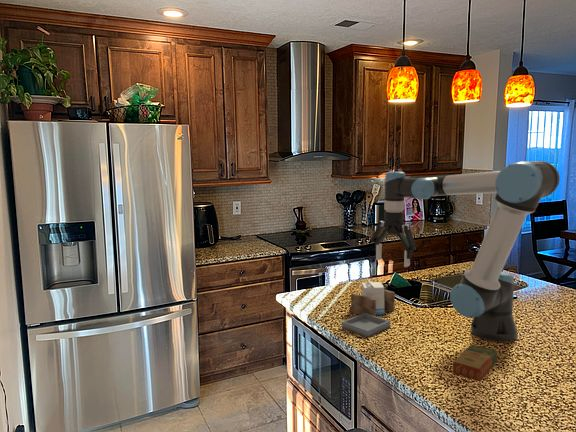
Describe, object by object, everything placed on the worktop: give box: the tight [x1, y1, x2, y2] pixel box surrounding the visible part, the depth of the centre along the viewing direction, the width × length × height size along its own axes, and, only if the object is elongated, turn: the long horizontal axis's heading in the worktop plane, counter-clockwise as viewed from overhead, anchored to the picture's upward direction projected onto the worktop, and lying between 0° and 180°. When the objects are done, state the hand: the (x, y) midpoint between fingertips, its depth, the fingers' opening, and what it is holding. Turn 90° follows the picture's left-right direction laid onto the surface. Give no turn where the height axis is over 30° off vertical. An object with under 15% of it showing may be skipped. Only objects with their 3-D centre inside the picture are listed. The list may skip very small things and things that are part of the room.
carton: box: [452, 344, 498, 382], centre depth 131 cm, size 8×16×4 cm, turn 139°
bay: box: [348, 289, 396, 317], centre depth 181 cm, size 13×14×8 cm
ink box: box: [361, 279, 386, 316], centre depth 180 cm, size 9×8×13 cm
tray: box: [341, 313, 391, 338], centre depth 164 cm, size 13×14×2 cm
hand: (392, 262), depth 173 cm, fingers open, 13 cm apart
